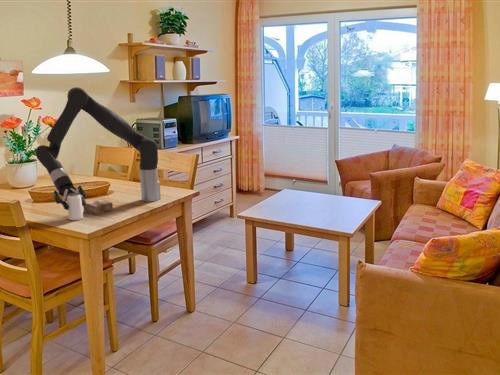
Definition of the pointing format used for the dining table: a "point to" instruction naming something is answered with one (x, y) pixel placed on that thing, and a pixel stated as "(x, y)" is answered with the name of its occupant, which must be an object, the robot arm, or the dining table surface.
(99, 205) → the pedestal
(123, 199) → the dining table surface
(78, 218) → the can
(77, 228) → the dining table surface
